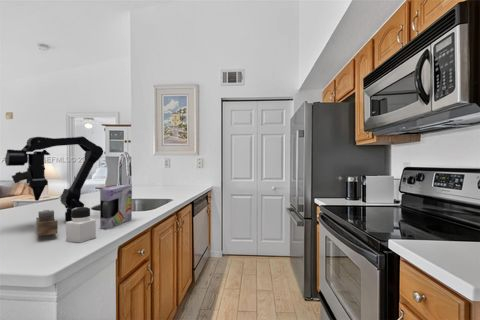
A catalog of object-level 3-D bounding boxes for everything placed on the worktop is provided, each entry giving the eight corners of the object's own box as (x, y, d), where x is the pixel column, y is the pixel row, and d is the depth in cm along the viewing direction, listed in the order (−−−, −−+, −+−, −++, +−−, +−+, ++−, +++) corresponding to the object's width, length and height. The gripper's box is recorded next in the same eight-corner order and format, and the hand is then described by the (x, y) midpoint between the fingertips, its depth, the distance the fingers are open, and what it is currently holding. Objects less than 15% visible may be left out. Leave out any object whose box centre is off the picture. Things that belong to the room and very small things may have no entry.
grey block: (53, 222, 114) (53, 208, 114) (54, 224, 111) (54, 210, 111) (38, 224, 111) (38, 210, 111) (38, 226, 108) (38, 211, 108)
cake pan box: (108, 230, 117) (107, 188, 117) (97, 229, 118) (97, 188, 118) (132, 219, 136) (132, 184, 136) (123, 219, 137) (123, 184, 137)
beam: (53, 227, 122) (53, 211, 122) (57, 239, 104) (57, 220, 104) (36, 229, 118) (36, 213, 118) (38, 242, 100) (37, 223, 100)
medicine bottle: (96, 237, 106) (96, 206, 106) (80, 243, 99) (79, 210, 99) (82, 236, 108) (82, 205, 108) (65, 241, 101) (65, 209, 101)
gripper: (12, 165, 123) (12, 200, 123) (13, 166, 109) (14, 205, 109) (42, 164, 130) (42, 197, 130) (47, 165, 116) (48, 202, 116)
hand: (36, 200), depth 121 cm, fingers closed
